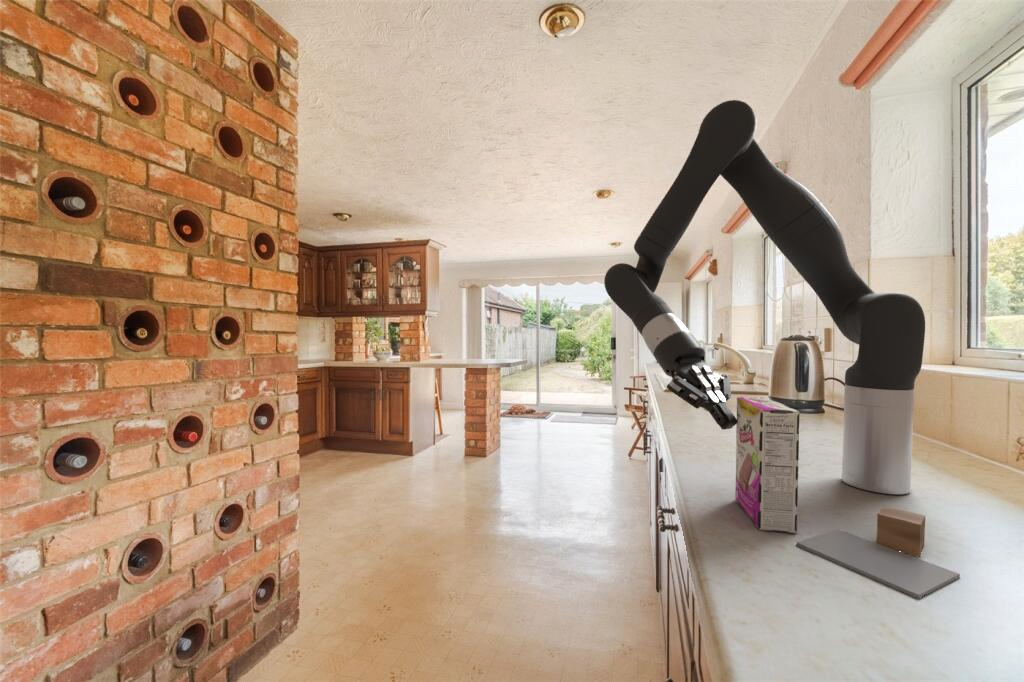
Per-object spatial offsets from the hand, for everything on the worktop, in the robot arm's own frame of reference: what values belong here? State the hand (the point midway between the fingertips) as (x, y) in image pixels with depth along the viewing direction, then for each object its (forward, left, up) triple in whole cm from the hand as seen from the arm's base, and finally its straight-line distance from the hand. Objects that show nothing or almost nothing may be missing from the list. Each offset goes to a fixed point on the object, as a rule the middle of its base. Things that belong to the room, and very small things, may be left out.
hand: (730, 426), depth 68 cm
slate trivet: (0, +19, -12) cm, 22 cm away
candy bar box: (0, +6, -12) cm, 13 cm away
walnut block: (-7, +19, -12) cm, 23 cm away
